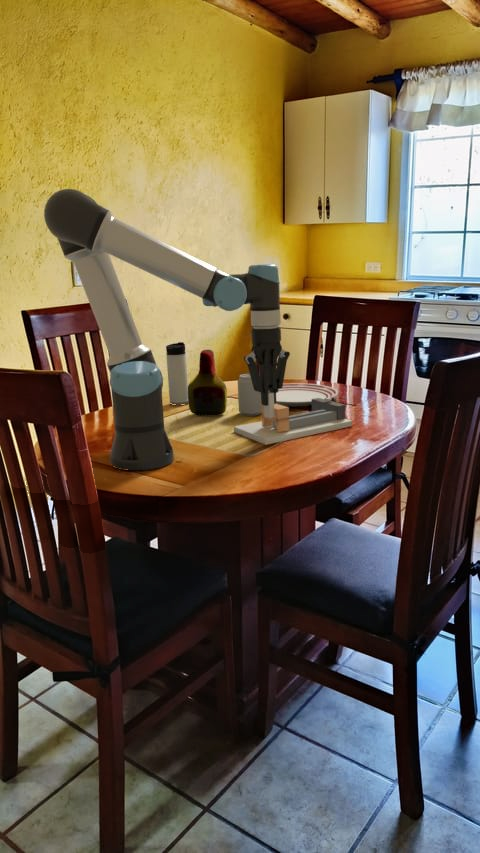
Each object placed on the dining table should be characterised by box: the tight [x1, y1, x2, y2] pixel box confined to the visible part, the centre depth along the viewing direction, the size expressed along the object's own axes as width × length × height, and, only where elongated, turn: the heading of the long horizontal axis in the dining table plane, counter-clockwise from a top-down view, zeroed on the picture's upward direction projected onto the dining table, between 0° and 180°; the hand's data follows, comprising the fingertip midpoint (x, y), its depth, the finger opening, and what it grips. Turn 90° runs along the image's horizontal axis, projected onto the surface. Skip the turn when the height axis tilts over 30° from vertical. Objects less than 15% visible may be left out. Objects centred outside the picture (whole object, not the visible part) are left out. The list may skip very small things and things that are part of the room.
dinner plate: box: [276, 382, 339, 408], centre depth 219 cm, size 27×27×3 cm
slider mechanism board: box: [233, 398, 353, 445], centre depth 183 cm, size 28×16×6 cm, turn 121°
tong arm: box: [273, 409, 327, 429], centre depth 183 cm, size 17×2×2 cm, turn 121°
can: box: [237, 373, 262, 417], centre depth 202 cm, size 8×8×12 cm
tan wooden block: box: [261, 404, 290, 433], centre depth 178 cm, size 4×8×6 cm, turn 31°
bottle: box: [188, 349, 228, 417], centre depth 201 cm, size 12×6×20 cm, turn 77°
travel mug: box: [165, 341, 189, 405], centre depth 218 cm, size 6×7×20 cm
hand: (269, 416), depth 175 cm, fingers closed
